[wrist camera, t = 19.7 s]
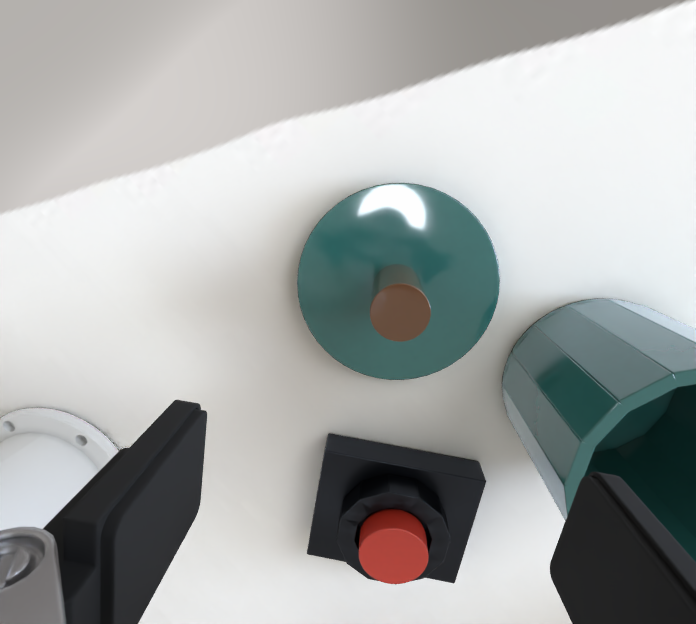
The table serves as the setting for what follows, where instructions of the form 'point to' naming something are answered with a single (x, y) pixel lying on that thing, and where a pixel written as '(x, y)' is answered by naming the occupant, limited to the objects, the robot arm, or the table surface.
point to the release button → (393, 546)
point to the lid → (398, 281)
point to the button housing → (394, 500)
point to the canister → (610, 405)
